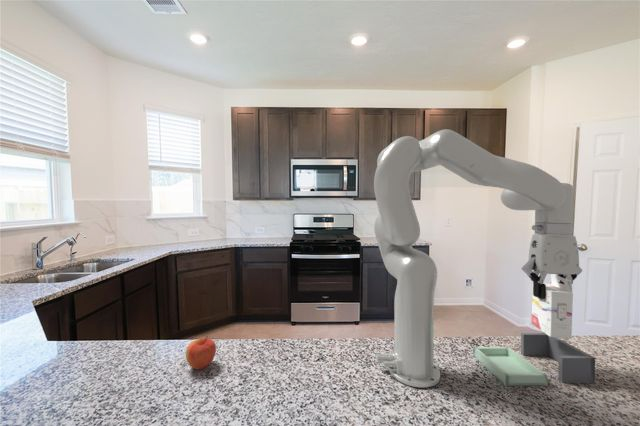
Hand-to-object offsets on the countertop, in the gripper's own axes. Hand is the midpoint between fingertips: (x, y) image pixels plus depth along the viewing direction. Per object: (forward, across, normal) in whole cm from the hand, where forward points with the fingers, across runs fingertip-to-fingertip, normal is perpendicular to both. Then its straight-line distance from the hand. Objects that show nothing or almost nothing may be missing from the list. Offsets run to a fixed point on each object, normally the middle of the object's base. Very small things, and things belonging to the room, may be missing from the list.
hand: (551, 297), depth 70 cm
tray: (+19, -12, -1) cm, 22 cm away
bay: (+19, +1, 0) cm, 19 cm away
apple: (+21, -93, +1) cm, 95 cm away
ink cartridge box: (+9, 0, 0) cm, 9 cm away
